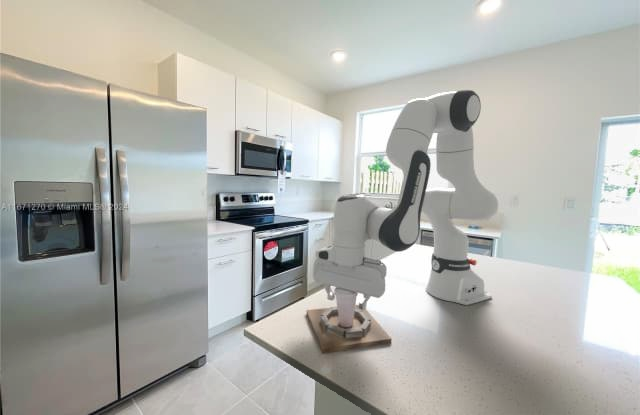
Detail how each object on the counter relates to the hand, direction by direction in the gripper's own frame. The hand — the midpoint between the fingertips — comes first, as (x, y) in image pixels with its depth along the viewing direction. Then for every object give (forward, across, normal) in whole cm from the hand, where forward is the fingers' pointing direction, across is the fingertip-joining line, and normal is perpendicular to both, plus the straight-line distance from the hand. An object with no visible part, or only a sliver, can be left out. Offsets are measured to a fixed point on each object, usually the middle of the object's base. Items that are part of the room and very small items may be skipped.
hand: (346, 303), depth 69 cm
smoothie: (+6, 0, 0) cm, 6 cm away
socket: (+7, 0, 0) cm, 7 cm away
